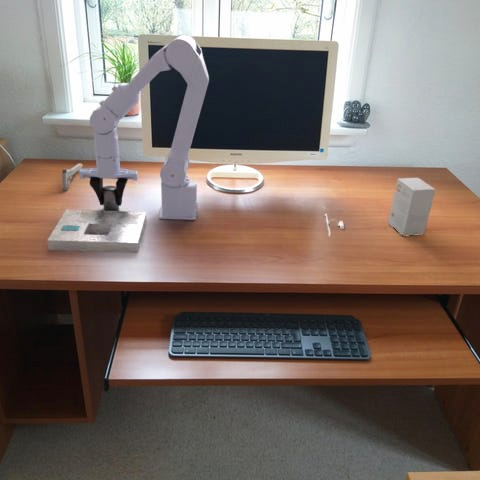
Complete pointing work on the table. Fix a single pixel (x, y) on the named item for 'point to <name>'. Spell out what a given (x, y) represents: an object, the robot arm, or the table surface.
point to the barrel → (110, 198)
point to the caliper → (69, 175)
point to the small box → (411, 206)
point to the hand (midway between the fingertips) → (111, 203)
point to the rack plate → (98, 231)
